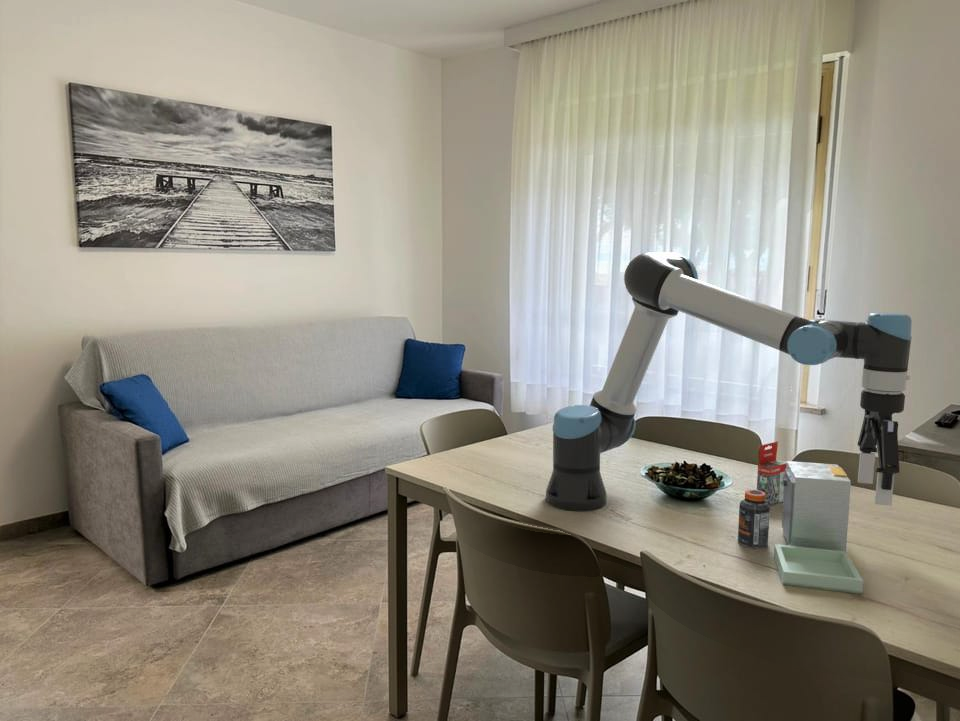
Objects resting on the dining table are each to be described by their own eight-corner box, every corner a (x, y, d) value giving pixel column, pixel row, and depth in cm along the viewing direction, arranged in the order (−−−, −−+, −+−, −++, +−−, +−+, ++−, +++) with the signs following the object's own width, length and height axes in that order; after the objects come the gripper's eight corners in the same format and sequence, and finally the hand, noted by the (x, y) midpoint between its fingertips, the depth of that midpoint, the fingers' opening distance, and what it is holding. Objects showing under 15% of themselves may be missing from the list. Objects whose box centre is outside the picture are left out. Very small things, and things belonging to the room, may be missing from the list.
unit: (786, 552, 136) (791, 475, 134) (778, 530, 147) (782, 459, 145) (847, 558, 133) (852, 480, 130) (834, 536, 144) (839, 463, 142)
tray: (782, 584, 122) (783, 571, 122) (773, 555, 134) (774, 544, 134) (862, 594, 118) (863, 580, 118) (845, 563, 130) (846, 551, 130)
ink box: (787, 500, 167) (790, 444, 165) (768, 506, 162) (771, 448, 160) (774, 496, 170) (777, 440, 168) (755, 502, 165) (758, 445, 163)
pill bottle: (732, 538, 143) (735, 487, 142) (759, 537, 144) (761, 486, 142) (745, 549, 137) (748, 497, 136) (773, 548, 138) (776, 496, 136)
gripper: (926, 404, 119) (914, 517, 122) (886, 381, 143) (877, 476, 146) (879, 401, 121) (868, 512, 124) (847, 379, 145) (839, 473, 148)
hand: (873, 493), depth 135 cm, fingers open, 13 cm apart
